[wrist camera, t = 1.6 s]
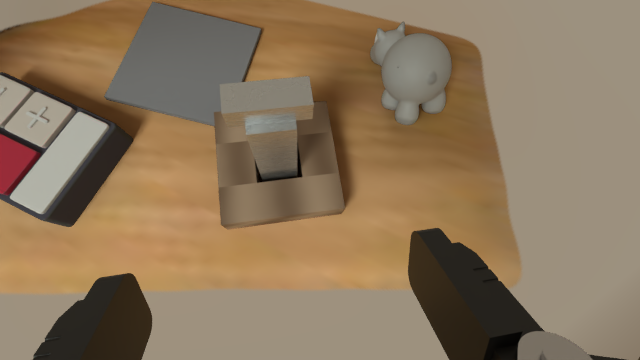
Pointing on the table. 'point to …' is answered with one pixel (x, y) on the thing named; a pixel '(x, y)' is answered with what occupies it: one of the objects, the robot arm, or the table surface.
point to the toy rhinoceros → (411, 72)
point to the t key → (269, 120)
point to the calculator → (53, 152)
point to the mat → (183, 63)
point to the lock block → (281, 195)
